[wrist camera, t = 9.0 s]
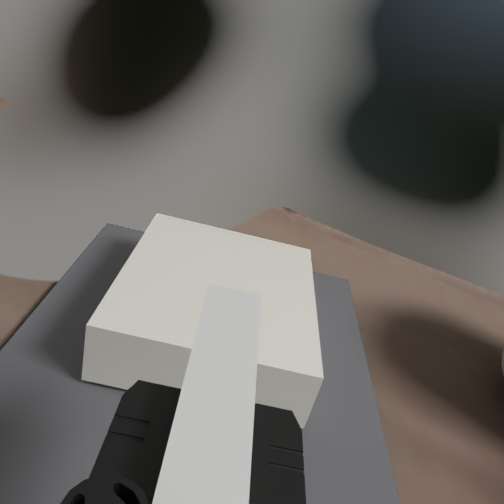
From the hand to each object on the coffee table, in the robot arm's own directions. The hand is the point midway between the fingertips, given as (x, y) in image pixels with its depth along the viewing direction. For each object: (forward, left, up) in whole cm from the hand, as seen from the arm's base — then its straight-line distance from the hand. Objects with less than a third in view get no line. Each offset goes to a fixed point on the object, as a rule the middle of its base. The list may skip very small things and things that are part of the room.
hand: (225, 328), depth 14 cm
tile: (-2, +4, -6) cm, 8 cm away
